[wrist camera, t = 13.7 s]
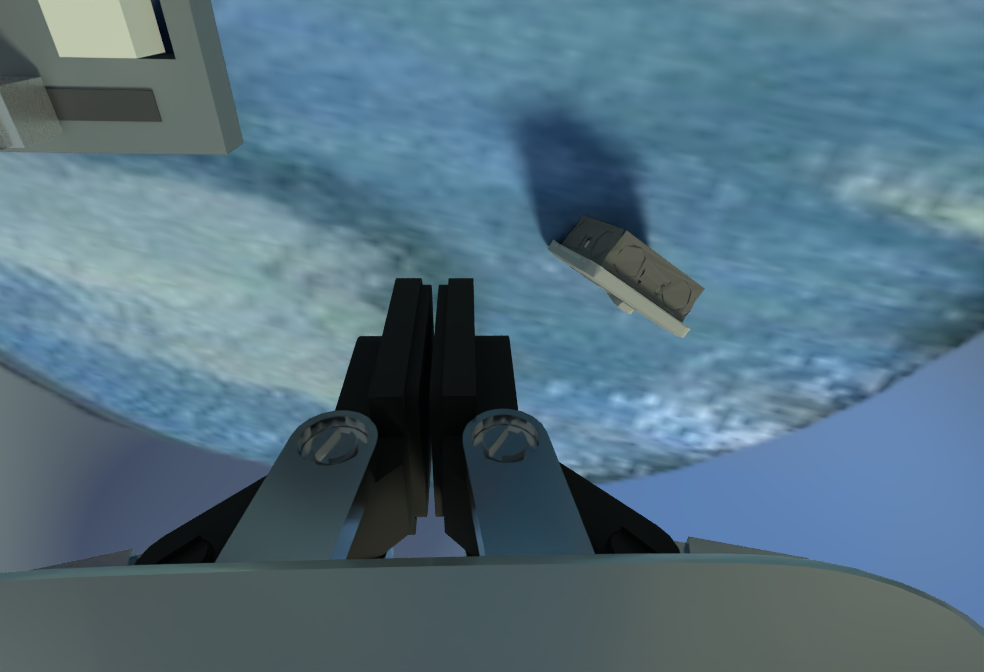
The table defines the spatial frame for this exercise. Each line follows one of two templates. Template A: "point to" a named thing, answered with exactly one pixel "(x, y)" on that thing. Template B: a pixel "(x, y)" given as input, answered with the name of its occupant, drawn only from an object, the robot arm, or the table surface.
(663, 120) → the table surface
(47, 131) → the grooved grey block
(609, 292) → the electrical switch
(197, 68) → the panel
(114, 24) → the ivory button
